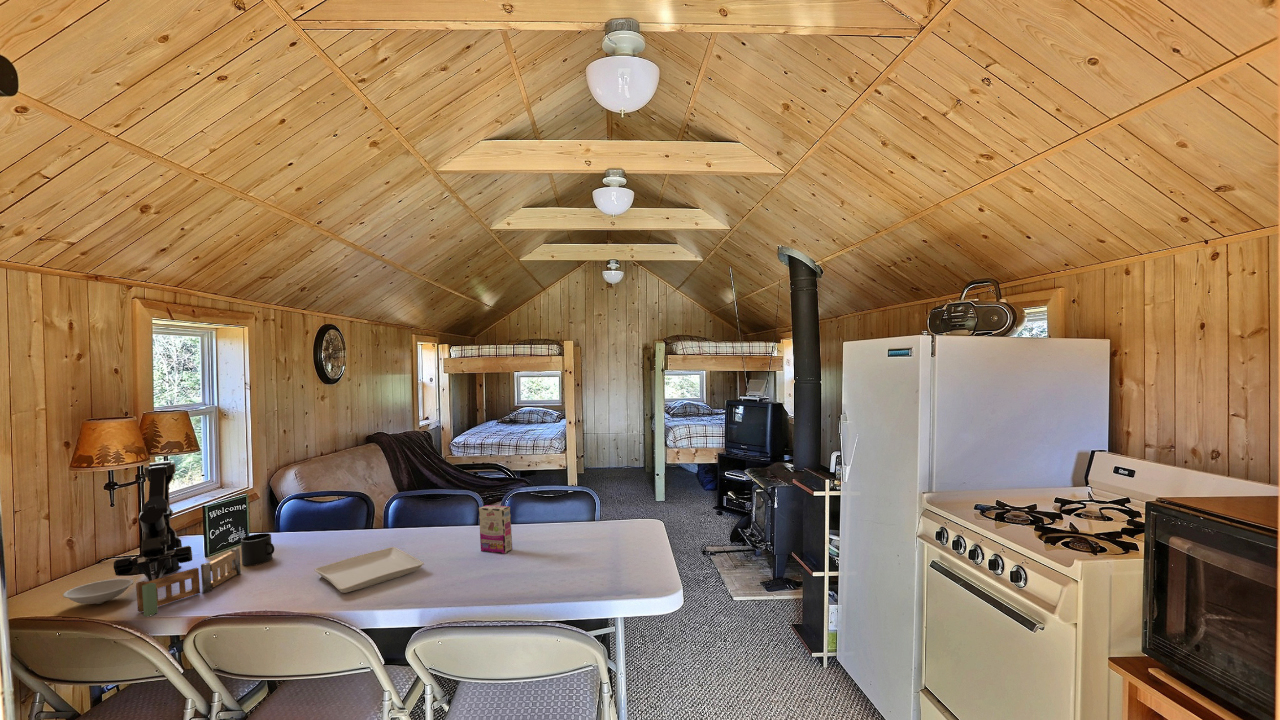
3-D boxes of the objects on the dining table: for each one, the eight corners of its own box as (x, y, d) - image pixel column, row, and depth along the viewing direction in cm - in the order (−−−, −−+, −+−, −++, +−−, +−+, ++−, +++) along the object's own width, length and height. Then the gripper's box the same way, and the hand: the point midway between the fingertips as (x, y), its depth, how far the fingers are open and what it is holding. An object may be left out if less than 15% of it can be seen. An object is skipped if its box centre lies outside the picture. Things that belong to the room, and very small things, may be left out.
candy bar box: (513, 549, 216) (511, 506, 216) (505, 554, 212) (503, 509, 211) (488, 546, 220) (486, 504, 220) (480, 551, 216) (477, 507, 215)
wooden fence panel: (200, 593, 188) (198, 565, 188) (235, 573, 204) (234, 547, 204) (208, 592, 188) (206, 565, 188) (242, 572, 204) (240, 547, 204)
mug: (264, 566, 210) (263, 541, 210) (235, 565, 212) (234, 541, 212) (284, 556, 219) (283, 533, 219) (256, 556, 221) (255, 532, 221)
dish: (49, 615, 176) (48, 599, 175) (90, 595, 190) (89, 580, 190) (110, 611, 177) (109, 595, 177) (147, 591, 191) (146, 576, 191)
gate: (197, 591, 188) (196, 565, 187) (200, 592, 187) (198, 566, 186) (137, 611, 175) (136, 583, 175) (139, 612, 174) (138, 584, 174)
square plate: (394, 555, 217) (393, 545, 217) (425, 573, 197) (425, 562, 197) (314, 577, 198) (313, 566, 198) (340, 600, 178) (339, 588, 178)
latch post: (153, 612, 175) (151, 582, 174) (157, 613, 174) (155, 583, 173) (143, 615, 172) (141, 585, 172) (148, 616, 171) (146, 586, 171)
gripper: (112, 533, 177) (108, 580, 168) (189, 520, 188) (189, 563, 179) (117, 552, 184) (114, 598, 175) (192, 538, 194) (192, 581, 186)
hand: (153, 584), depth 178 cm, fingers closed
